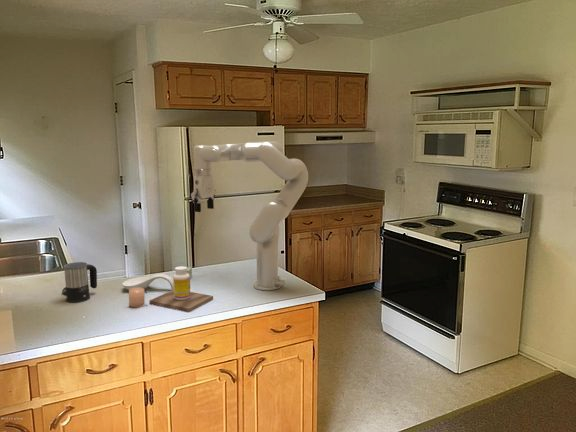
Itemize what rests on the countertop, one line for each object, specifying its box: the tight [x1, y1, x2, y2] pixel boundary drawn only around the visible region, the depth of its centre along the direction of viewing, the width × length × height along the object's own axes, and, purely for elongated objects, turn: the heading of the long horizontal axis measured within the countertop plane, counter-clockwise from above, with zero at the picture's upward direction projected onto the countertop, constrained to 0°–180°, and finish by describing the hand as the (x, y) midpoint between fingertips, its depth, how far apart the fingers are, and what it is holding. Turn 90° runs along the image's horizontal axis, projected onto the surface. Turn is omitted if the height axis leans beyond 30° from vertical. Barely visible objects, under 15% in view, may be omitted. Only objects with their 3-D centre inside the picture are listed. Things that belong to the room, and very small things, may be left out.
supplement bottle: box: [172, 265, 191, 300], centre depth 199 cm, size 7×7×13 cm
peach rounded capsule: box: [128, 287, 146, 308], centre depth 196 cm, size 6×6×6 cm
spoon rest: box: [121, 273, 174, 291], centre depth 214 cm, size 24×12×7 cm, turn 85°
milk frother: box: [61, 261, 98, 303], centre depth 205 cm, size 14×16×15 cm
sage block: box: [186, 266, 193, 280], centre depth 229 cm, size 5×5×5 cm
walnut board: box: [149, 289, 214, 313], centre depth 200 cm, size 20×16×2 cm
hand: (204, 210), depth 222 cm, fingers open, 9 cm apart
